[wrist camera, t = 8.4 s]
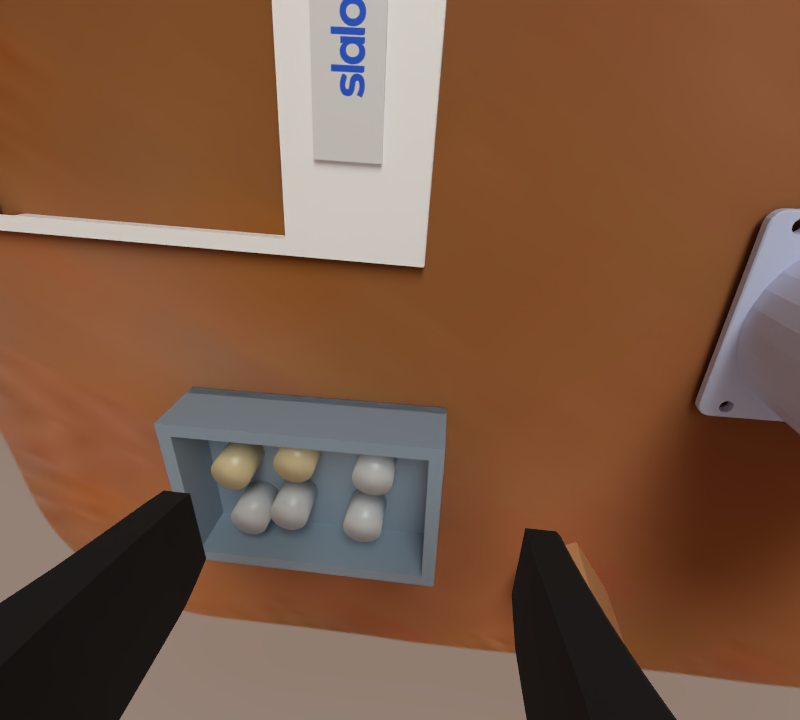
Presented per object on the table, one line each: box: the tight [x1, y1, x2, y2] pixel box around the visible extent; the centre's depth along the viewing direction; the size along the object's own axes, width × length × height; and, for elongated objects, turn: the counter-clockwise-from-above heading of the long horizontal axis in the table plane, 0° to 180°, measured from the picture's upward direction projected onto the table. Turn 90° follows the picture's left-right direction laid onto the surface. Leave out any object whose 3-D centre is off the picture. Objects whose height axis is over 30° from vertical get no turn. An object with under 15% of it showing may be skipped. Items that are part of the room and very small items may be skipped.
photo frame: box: [0, 0, 447, 268], centre depth 15 cm, size 15×1×18 cm
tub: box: [154, 387, 447, 587], centre depth 21 cm, size 12×8×3 cm, turn 89°
